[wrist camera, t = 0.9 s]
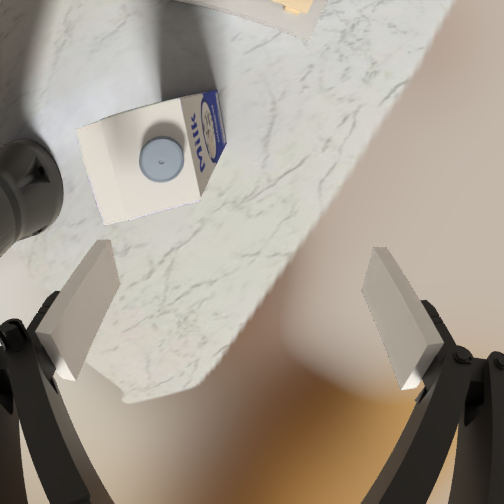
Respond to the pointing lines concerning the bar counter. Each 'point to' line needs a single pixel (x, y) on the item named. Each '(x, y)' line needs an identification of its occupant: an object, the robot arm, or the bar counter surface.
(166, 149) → the milk carton
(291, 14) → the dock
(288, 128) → the bar counter surface
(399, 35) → the bar counter surface
